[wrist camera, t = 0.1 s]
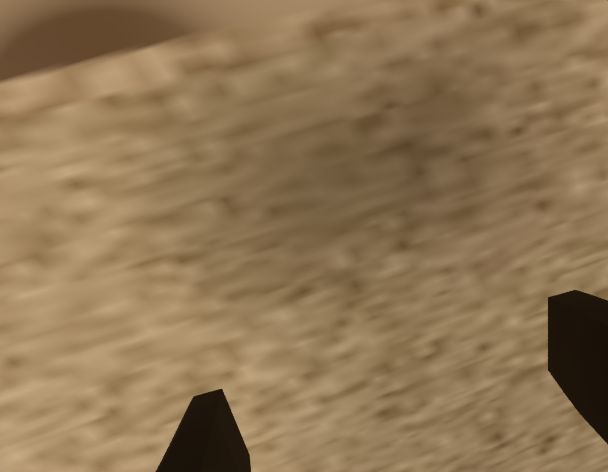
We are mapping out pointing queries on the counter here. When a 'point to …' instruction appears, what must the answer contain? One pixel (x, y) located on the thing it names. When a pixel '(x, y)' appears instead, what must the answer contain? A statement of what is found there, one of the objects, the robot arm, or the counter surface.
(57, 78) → the counter surface
